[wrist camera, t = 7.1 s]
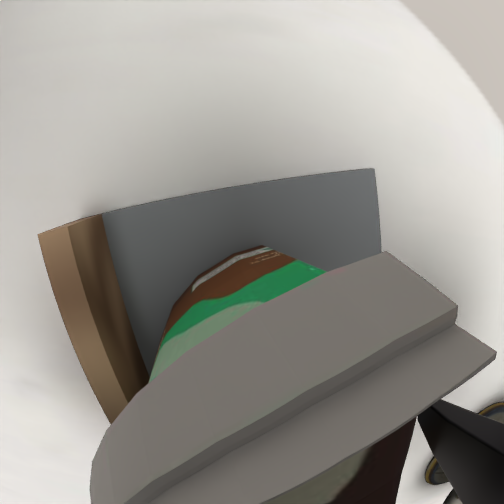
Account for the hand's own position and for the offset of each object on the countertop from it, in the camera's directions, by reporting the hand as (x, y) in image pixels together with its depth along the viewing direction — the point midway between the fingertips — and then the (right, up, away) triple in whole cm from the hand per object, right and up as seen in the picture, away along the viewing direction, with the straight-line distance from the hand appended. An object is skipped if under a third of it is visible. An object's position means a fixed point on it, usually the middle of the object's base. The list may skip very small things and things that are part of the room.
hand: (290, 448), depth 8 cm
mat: (-1, 0, +6) cm, 6 cm away
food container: (-3, +1, +5) cm, 6 cm away
